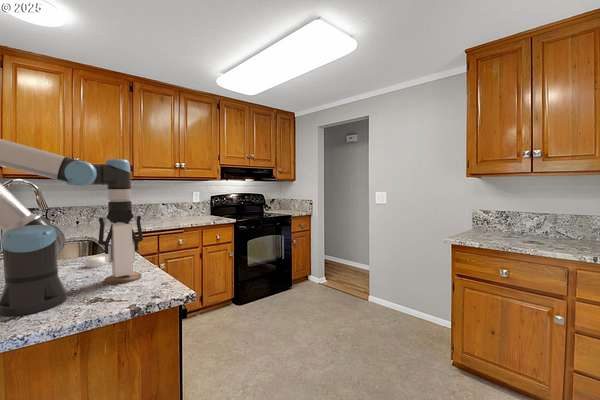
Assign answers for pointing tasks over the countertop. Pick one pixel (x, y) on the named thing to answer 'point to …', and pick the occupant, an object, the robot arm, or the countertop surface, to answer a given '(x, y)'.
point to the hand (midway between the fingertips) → (122, 260)
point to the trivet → (122, 278)
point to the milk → (121, 249)
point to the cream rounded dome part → (95, 262)
